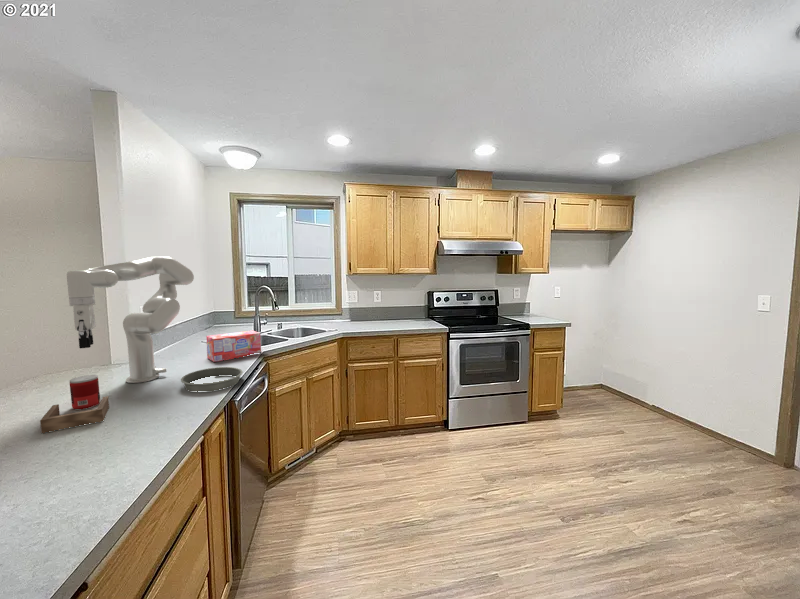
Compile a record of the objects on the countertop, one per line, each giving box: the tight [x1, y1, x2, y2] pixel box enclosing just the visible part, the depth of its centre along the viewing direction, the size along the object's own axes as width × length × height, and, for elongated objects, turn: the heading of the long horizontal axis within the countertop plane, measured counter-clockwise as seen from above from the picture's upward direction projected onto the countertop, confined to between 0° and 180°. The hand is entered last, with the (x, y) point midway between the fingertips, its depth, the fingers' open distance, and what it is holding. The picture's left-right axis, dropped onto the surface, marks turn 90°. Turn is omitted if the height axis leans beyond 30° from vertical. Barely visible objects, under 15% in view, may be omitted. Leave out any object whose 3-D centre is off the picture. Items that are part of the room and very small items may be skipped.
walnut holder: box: [39, 395, 110, 434], centre depth 118 cm, size 15×14×4 cm
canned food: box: [68, 374, 101, 410], centre depth 129 cm, size 8×8×11 cm
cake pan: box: [180, 366, 244, 393], centre depth 154 cm, size 25×25×4 cm
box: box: [206, 329, 262, 363], centre depth 199 cm, size 27×13×14 cm, turn 135°
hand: (86, 345), depth 136 cm, fingers open, 5 cm apart
